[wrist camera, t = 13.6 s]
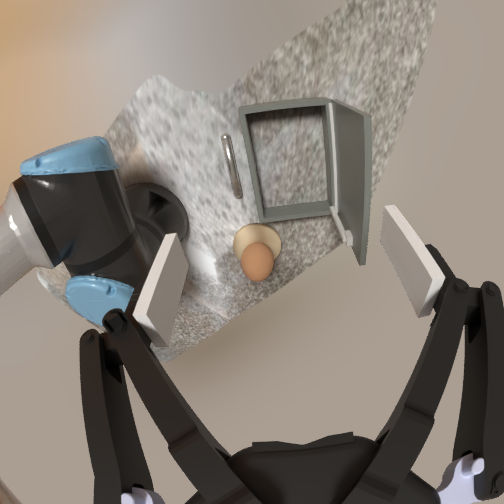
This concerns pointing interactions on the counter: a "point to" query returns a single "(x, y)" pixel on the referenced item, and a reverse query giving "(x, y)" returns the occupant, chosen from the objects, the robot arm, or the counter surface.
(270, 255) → the egg
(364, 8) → the counter surface
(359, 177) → the grey hinged box
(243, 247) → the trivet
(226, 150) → the rod
